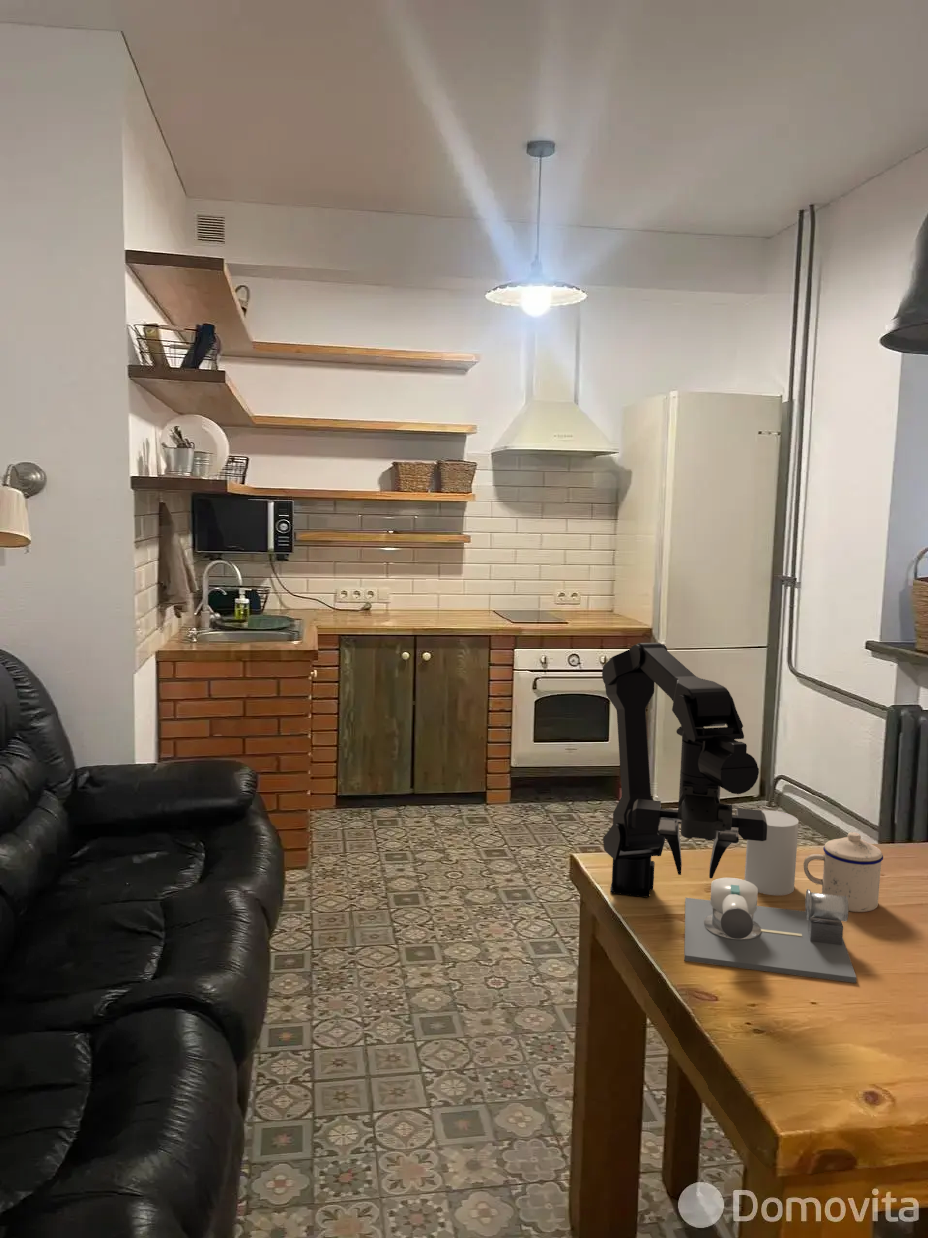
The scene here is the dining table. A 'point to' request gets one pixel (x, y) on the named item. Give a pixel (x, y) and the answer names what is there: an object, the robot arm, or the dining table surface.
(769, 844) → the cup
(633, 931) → the dining table surface
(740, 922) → the elbow
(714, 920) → the duct stub
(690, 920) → the board
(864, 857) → the teacup with lid
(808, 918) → the duct run
